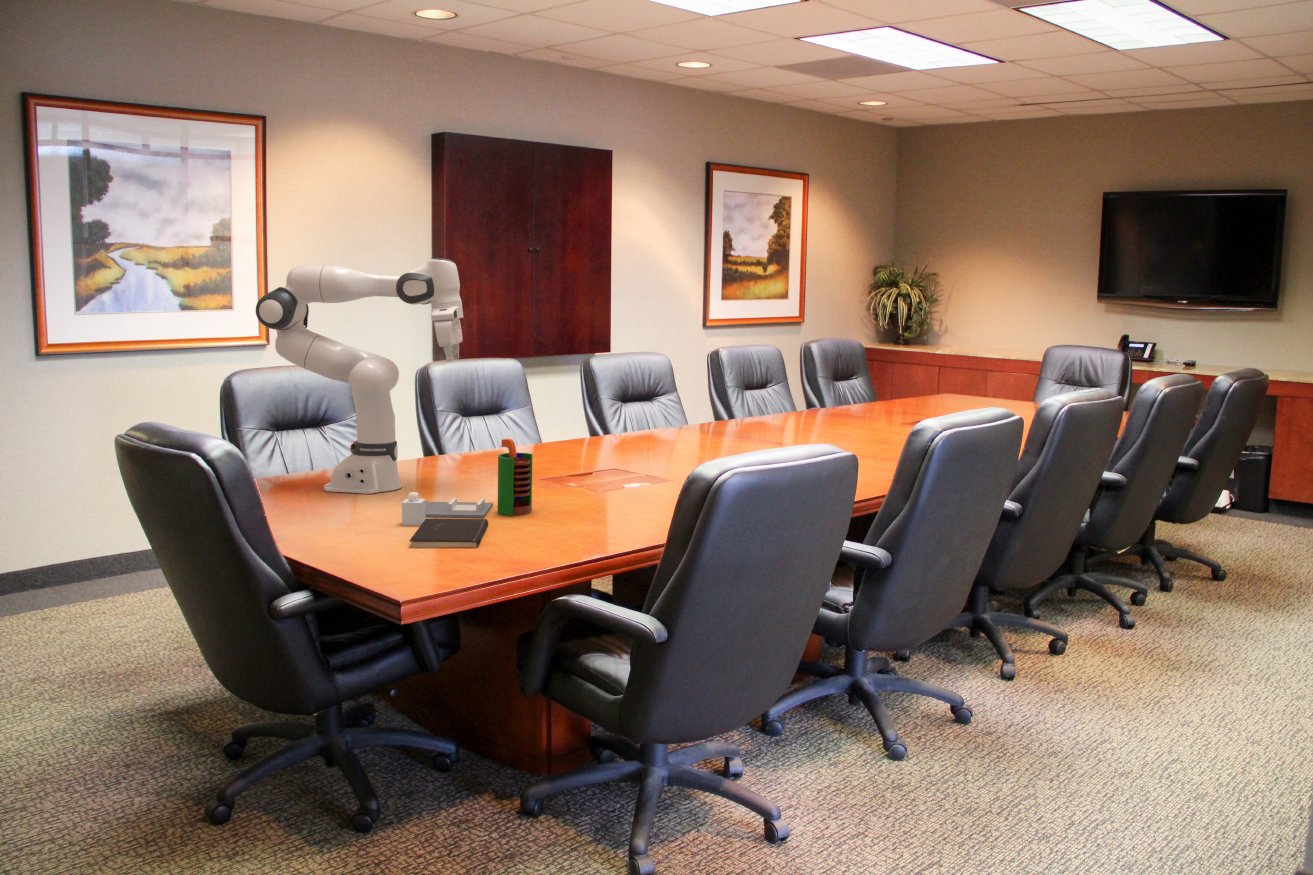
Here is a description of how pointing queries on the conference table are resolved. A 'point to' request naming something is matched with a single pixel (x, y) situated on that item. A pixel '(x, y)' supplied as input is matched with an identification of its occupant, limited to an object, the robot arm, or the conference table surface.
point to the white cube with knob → (413, 510)
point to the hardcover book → (449, 533)
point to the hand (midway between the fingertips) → (452, 360)
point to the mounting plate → (457, 509)
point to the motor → (514, 481)
